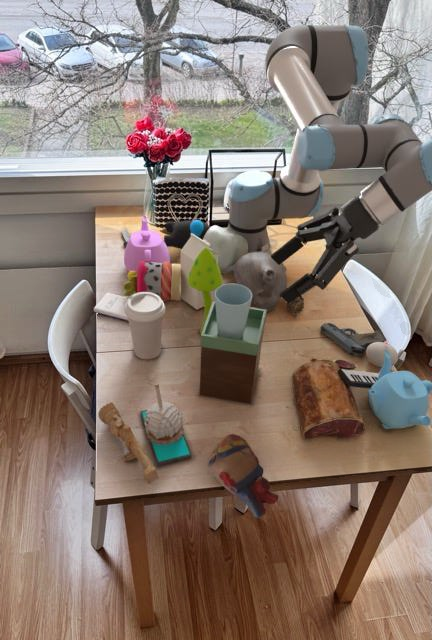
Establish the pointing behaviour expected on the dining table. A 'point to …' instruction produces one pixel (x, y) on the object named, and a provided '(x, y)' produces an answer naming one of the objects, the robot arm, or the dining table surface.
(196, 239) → the milk carton
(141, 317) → the coffee cup
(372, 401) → the teapot
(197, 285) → the mushroom
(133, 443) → the figurine
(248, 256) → the piggy bank
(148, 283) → the cake
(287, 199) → the robot arm
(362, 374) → the midi keyboard
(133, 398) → the dining table surface
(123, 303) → the hard drive
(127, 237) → the knife
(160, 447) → the smartphone
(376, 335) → the handgun
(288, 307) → the pendant
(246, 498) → the anatomical model
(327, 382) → the cured meat
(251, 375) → the stand
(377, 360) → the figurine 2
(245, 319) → the cup
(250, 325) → the tray
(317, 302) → the dining table surface
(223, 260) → the planter
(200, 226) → the toy
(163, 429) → the decorative ornament
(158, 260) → the teapot
